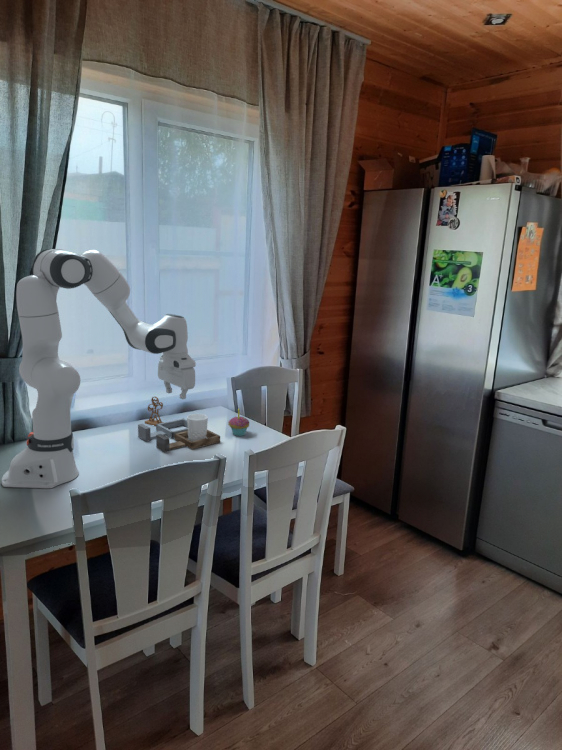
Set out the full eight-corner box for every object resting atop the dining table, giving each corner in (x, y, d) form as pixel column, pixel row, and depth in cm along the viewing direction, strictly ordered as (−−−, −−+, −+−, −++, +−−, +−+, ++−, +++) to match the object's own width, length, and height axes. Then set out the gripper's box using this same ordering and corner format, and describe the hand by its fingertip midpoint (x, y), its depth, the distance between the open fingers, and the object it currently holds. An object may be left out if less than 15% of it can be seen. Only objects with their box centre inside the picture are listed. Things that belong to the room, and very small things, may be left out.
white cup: (197, 446, 208) (197, 421, 206) (182, 441, 213) (182, 416, 210) (211, 441, 214) (212, 416, 212) (197, 436, 219) (197, 412, 217)
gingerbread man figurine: (144, 423, 232) (143, 395, 229) (150, 421, 235) (150, 393, 232) (160, 427, 227) (159, 399, 224) (166, 425, 231) (166, 397, 228)
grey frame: (149, 443, 209) (149, 431, 208) (134, 434, 217) (134, 422, 216) (199, 431, 223) (199, 420, 222) (183, 424, 232) (183, 412, 231)
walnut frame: (169, 454, 199) (168, 441, 198) (152, 445, 207) (152, 432, 206) (220, 442, 213) (220, 429, 212) (202, 433, 222) (202, 421, 221)
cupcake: (248, 438, 220) (249, 409, 217) (226, 437, 220) (227, 408, 217) (249, 430, 228) (250, 403, 225) (229, 429, 228) (229, 402, 225)
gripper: (153, 354, 205) (153, 390, 208) (183, 365, 190) (183, 403, 194) (168, 352, 209) (168, 388, 212) (198, 363, 194) (198, 400, 198)
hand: (175, 395), depth 203 cm, fingers open, 8 cm apart
